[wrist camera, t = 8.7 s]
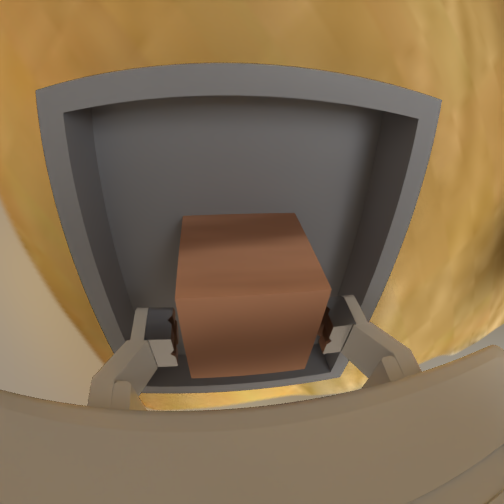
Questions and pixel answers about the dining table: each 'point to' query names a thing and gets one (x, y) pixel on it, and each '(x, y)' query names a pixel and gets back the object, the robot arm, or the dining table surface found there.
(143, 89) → the tray
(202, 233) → the block
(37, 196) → the dining table surface
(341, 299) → the robot arm
